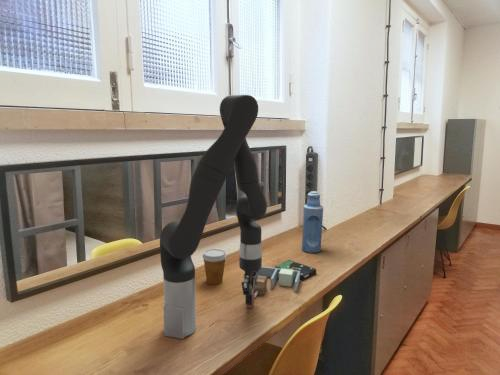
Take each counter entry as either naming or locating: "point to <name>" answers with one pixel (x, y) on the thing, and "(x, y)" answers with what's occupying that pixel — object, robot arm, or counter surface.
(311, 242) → the bottle
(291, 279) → the block
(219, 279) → the disposable coffee cup
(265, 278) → the block with brown handle
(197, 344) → the counter surface
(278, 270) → the lane rack
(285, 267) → the disk drive
